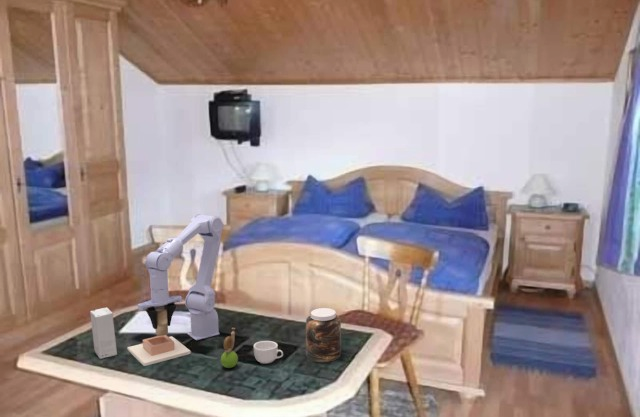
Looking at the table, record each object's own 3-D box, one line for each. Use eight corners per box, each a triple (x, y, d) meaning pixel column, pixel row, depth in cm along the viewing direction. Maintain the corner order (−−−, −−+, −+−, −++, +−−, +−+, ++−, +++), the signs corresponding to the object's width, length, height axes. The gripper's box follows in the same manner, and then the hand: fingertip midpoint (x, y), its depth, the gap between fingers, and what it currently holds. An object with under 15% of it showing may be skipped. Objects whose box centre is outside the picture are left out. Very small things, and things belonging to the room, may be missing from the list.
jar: (307, 347, 199) (307, 306, 197) (341, 348, 198) (341, 306, 196) (304, 362, 188) (304, 318, 185) (340, 363, 187) (340, 318, 184)
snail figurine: (242, 363, 187) (241, 328, 185) (233, 372, 181) (231, 335, 179) (227, 361, 189) (226, 326, 187) (217, 369, 183) (216, 333, 181)
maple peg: (168, 330, 197) (167, 308, 195) (167, 335, 193) (166, 312, 191) (156, 331, 196) (155, 309, 194) (155, 336, 192) (153, 313, 191)
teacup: (249, 363, 187) (249, 348, 186) (260, 354, 194) (259, 339, 193) (278, 368, 183) (277, 352, 182) (287, 358, 191) (287, 343, 190)
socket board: (172, 338, 207) (171, 328, 207) (190, 353, 195) (190, 342, 194) (127, 349, 198) (126, 338, 197) (144, 366, 185) (143, 354, 185)
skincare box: (117, 355, 194) (114, 313, 191) (98, 359, 191) (95, 316, 188) (111, 347, 201) (108, 306, 198) (92, 351, 197) (89, 309, 195)
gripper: (175, 280, 199) (177, 318, 201) (133, 288, 190) (136, 328, 193) (183, 285, 193) (185, 324, 196) (141, 294, 185) (143, 334, 187)
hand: (161, 326), depth 194 cm, fingers closed on maple peg, 4 cm apart
